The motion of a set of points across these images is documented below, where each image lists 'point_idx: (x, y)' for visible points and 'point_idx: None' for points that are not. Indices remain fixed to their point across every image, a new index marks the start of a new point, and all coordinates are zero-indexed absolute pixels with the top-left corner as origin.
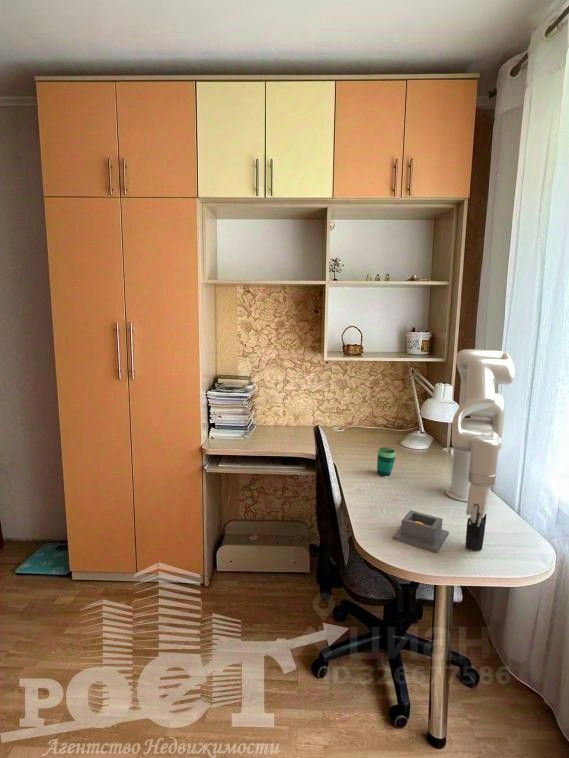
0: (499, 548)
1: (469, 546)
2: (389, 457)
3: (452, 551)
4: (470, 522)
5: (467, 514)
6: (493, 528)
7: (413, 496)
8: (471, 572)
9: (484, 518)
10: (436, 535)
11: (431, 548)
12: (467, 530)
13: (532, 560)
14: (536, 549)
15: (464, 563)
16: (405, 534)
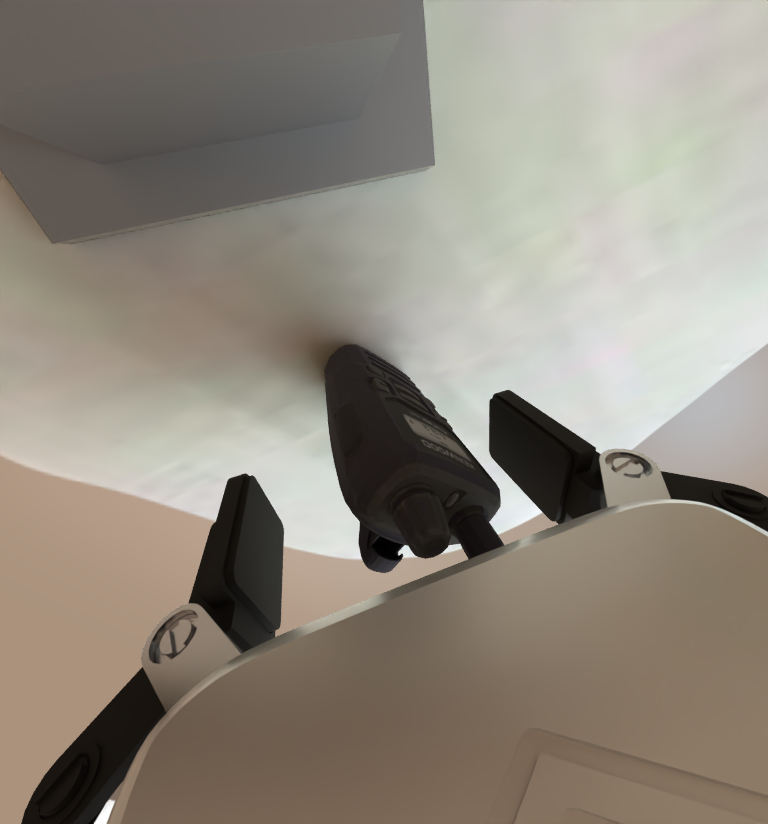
0: None
1: (325, 386)
2: None
3: (223, 314)
4: (150, 668)
5: (145, 744)
6: (620, 347)
7: None
8: (134, 480)
9: (528, 493)
10: (134, 132)
11: (9, 177)
12: (335, 416)
13: None
14: (522, 503)
15: (173, 423)
16: None
